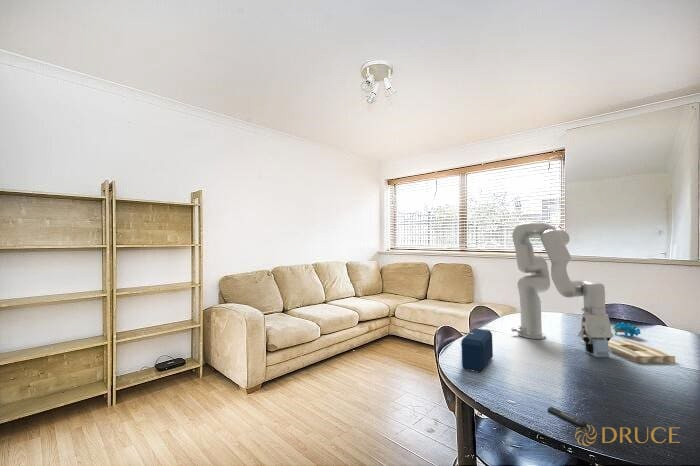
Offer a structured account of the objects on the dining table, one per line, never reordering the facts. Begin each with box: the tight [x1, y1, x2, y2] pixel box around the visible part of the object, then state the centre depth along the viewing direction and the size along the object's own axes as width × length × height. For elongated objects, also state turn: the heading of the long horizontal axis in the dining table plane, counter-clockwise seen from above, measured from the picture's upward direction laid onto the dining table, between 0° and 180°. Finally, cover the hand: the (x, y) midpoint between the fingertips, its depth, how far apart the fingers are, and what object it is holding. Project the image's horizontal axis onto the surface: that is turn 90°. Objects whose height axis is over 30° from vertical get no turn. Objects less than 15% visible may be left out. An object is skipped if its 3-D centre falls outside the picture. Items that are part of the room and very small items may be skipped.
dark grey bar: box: [547, 406, 587, 429], centre depth 88 cm, size 10×3×2 cm, turn 27°
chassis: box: [608, 339, 676, 364], centre depth 135 cm, size 16×20×3 cm
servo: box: [580, 335, 613, 358], centre depth 136 cm, size 5×11×7 cm, turn 179°
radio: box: [461, 327, 494, 373], centre depth 128 cm, size 21×9×20 cm, turn 145°
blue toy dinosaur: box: [612, 322, 641, 338], centre depth 159 cm, size 11×6×10 cm
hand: (596, 351), depth 136 cm, fingers closed on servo, 5 cm apart
